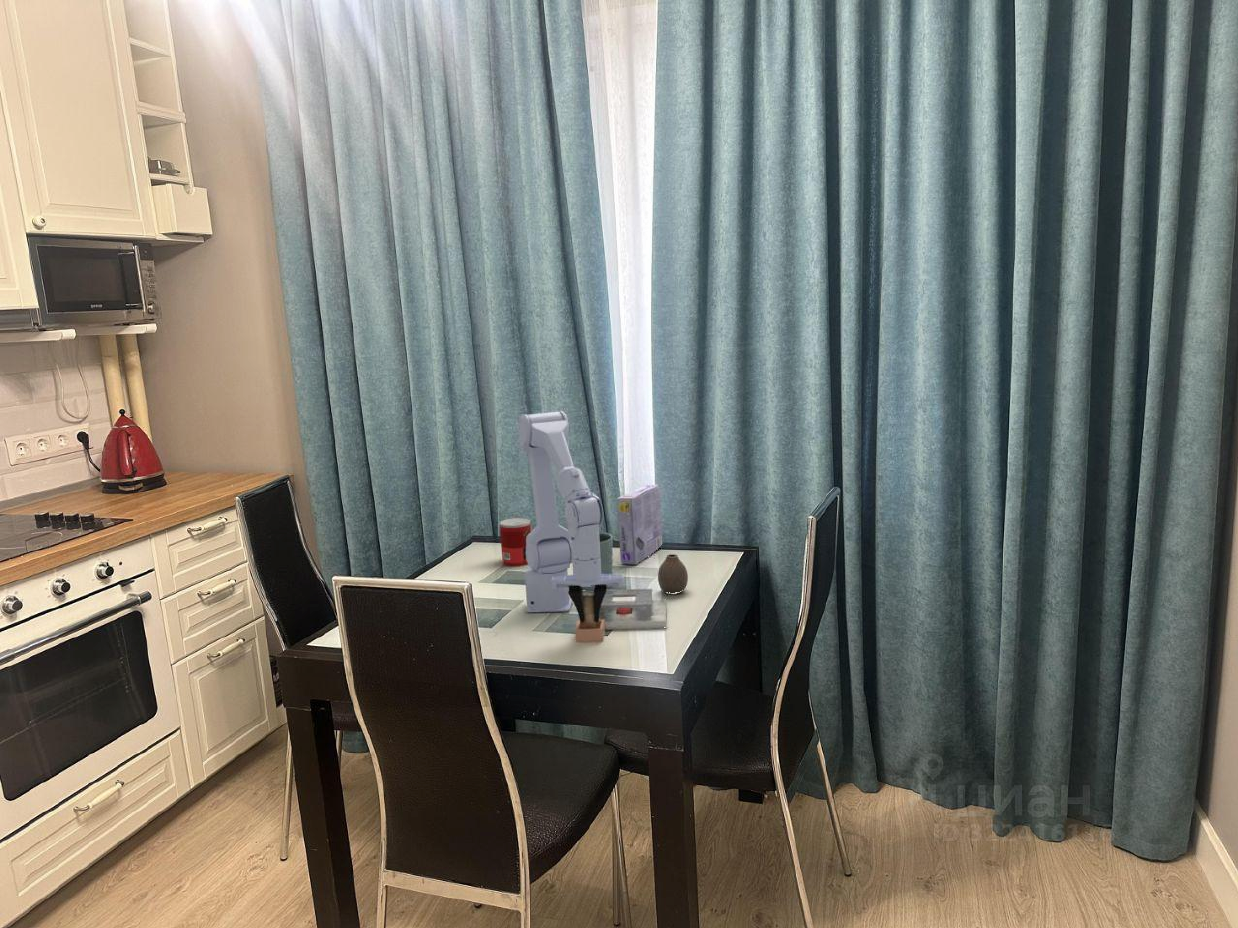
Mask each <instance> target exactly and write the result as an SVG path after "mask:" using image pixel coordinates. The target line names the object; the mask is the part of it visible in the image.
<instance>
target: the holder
mask: <svg viewBox="0 0 1238 928" xmlns="http://www.w3.org/2000/svg"><path fill="white" fill-rule="evenodd" d="M605 634H606V630H605V620H599V622H596V629H584V622H580V619H577V622H576V625H575V629H574V637H575V643H580V642H581V643H584V642H587V643H588V642H604V641H605V640H604V639H605Z"/></svg>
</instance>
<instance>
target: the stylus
mask: <svg viewBox="0 0 1238 928" xmlns="http://www.w3.org/2000/svg"><path fill="white" fill-rule="evenodd" d="M583 614H584V629H596V622H595V602H594V593H583Z"/></svg>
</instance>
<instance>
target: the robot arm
mask: <svg viewBox="0 0 1238 928" xmlns="http://www.w3.org/2000/svg"><path fill="white" fill-rule="evenodd" d="M517 423H518V424H517V431H518V440H519V446H520V451H521V452H523V453H527V456H528V462H529V470H530V476H531V477H530V479H531V486H532V488H531V489H532V495H533V505H534V511H535V512H534V513H535V520H536V526H535V527H534V528H533V529H531V532H530V533H529V534H528V536H527V537H526V559H527V562H528V564H527V565H528V567H529V568H527V569H526V571H525V593H526V594H525V595H526V613H550V612H551V613H552V612H555V613H556V612H569V611H570V609H571V606H572V603H573V605H574V607H575V609H576V612H577V614H578V617H579V620H580V622H584V614H583V595H584V593H583V592H584V591H583V587H595V588H594V591H593V594H594V602H595V622H599V613H600V607H601V604H602V601H603V598H604V596H605V594H606V590H608V589H607V586H612V587H617V588H624V585H625V581H624V574H613V575H610V574H601V558H600V538H599V532H600V526H599V525H601V524H602V523H603V521H604V508H603V504H602V500H601V499H600V498H599V496H598V495H596V494H595V492H592V491H591V490H590V487H589V484H588V483H587V480H586V478H585V475H584V473H583V471H582V470H581V469H580V468H579V467H576V466H575V465H574V462H573V459H572V455H571V452H570V448H569V446H568V443H567V441H568V437H569V432H570V425H569V419H568V416H567V414H566V413H565V412H564V411H563V410H558V411H552V412H541V413H540V412H539V413H530V414H525V413H524V414H521V415H520V417H519V419H518V422H517ZM552 464H553V466H554V469H555V470H556V472H557V475H556V479H555V480H554V473H553V466H552ZM554 481H555V482H554ZM555 483H556V485H557V488H558V491H559V492H560V495H561V498H562V500H563V503H564V505H565V508H564V517H565V521H566V525H567V528H565V527H564V526H563V525H560V522H559V515H558V507H557V497H556V488H555ZM571 564H572V574H569V573H568V569H570V568H571Z"/></svg>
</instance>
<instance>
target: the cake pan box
mask: <svg viewBox="0 0 1238 928" xmlns="http://www.w3.org/2000/svg"><path fill="white" fill-rule="evenodd" d="M661 506H662V505H661V486H660V485H659V484H646V485H642V486H641V487H639V488H637V489H635V490H631V491H630V492H627V493H625V494H623V495H621V496H619V497H617V498H616V507H617V508H616V509H617V510H616V511H617V521H618V523H617V525H618V536H619V537H618V539H619V554H620V555H619V556H620V564H623V565H630V566H637V565H638V564H640V563H641V562H642V561H644V560H646V559H648V558H649V557H648V556H650V555H651V554H652V553H653V554H654V552H655V551H656V550H657V549H658V548H659V547H660V546H661V545H662V544H664V543H663V524H662V523H663V522H662V507H661ZM656 552H657V551H656ZM656 552H655V553H656ZM651 556H652V555H651ZM651 556H650V557H651ZM647 557H648V558H647ZM645 558H646V559H645ZM639 562H640V563H639ZM636 564H637V565H636Z"/></svg>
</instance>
